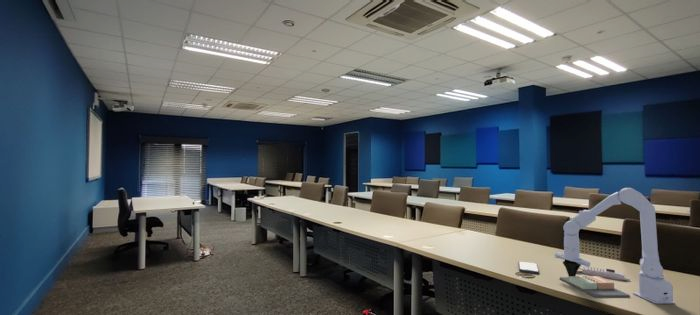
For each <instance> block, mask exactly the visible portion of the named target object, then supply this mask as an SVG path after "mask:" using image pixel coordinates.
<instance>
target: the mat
mask: <svg viewBox="0 0 700 315" xmlns="http://www.w3.org/2000/svg"><path fill="white" fill-rule="evenodd" d="M559 280H560V281H562V282H564V283H566V284H568V285H570V286H572V287H574V288H575V289H577V290H580V291H582V292H583V291H584V293H586V294H588V295H590V296H591V297H593V298H630V297H631V296H630V294H628V293H626V292H624V291H622V290H619V289H617V288H615V287H614V289H582V288H580V287H578V286H576V285H574V284H572V283H570V282H569V276H566V277H565V276H564V277H563V276H559Z"/></svg>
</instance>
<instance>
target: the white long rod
mask: <svg viewBox="0 0 700 315" xmlns="http://www.w3.org/2000/svg"><path fill="white" fill-rule="evenodd" d="M578 270H581V271H582V274H584V275H588V276H599V277H602V278H605V279H613V280H617V281H619V280H620V281H625V282H626V281H627V282H631V279H629V278H626V277H625V274H624V272H622V271H619V270H616V269H611V268H599V267H592V266H590V267H586V266H584V265H581V266H580V267H579V269H578Z"/></svg>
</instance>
